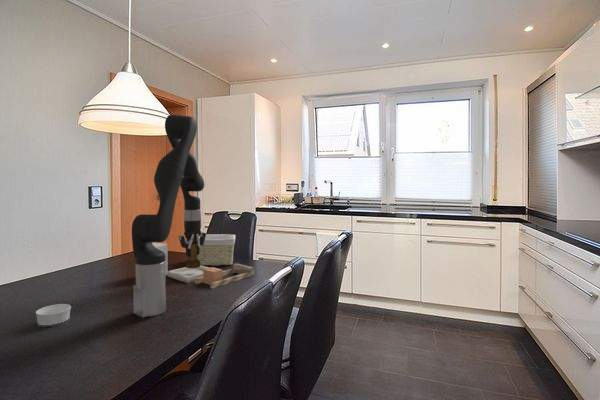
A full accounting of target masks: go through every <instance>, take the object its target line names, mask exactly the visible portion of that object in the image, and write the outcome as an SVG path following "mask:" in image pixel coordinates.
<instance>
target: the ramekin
mask: <svg viewBox="0 0 600 400" xmlns="http://www.w3.org/2000/svg"><path fill="white" fill-rule="evenodd" d="M71 309H72V306H71V304H68V303H57V304H52V305H47V306H43V307H41V308H39V309H37V310H36V311H35V315H36V322H37V325H38V324H39V325H52V324H57V323H61V322H64V321H66V320H68V319H69V320H70V317H71V315H70V314H71ZM69 320H68V321H69ZM39 325H38V326H39Z"/></svg>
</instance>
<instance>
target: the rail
mask: <svg viewBox="0 0 600 400" xmlns="http://www.w3.org/2000/svg"><path fill="white" fill-rule="evenodd" d="M232 266H233V268H231V269H230V268H229V269H225V270H223V277H224V276H229V275H232V274H235V273H236V274H237V275H234V276H230V277H228V278H223V280H220V281H217V282H213V283H210V285H209V286H210V287H209V288H210V289H212V290H213V289H216V288H219V287H222V286H225V285H228V284H232V283H235V282H238V281H241V280H244V279H247V278H250V277H254V275H255V273H254V272H255V269H254V267H253V266H249V265H244V264H241V263H237V262H236V263H232ZM194 283H195V284H196V285H197V284H201V283H203V277H200V278H196V279H195V282H194Z"/></svg>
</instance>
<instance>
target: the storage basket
mask: <svg viewBox="0 0 600 400" xmlns="http://www.w3.org/2000/svg"><path fill="white" fill-rule="evenodd" d="M199 239H200V236H199ZM235 243H236V234H231V233H229V234H227V233H226V234H225V233H224V234H223V233H221V234H219V233H218V234H216V233H215V234H209V233H206V237H205V240H204V244H203V245H201V246H200V253H199V255H197V259H198V260H199V261H200V265H201V266H205V267H207V266H213V267H214V266H231V265H232V266H233V264H234V263H233V261H234V249H235V245H236V244H235Z"/></svg>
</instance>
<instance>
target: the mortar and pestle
mask: <svg viewBox="0 0 600 400" xmlns="http://www.w3.org/2000/svg"><path fill="white" fill-rule="evenodd" d="M192 233H193V234H195V233H196V230H193V231H192ZM194 239H195V238H194ZM190 249H191V256H190V257H188V259H187V260H186V261H185V267H186V268H198V267H200V261H199V260H198V259H197V243H196V242H195V241H192V244H191V247H190Z"/></svg>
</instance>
